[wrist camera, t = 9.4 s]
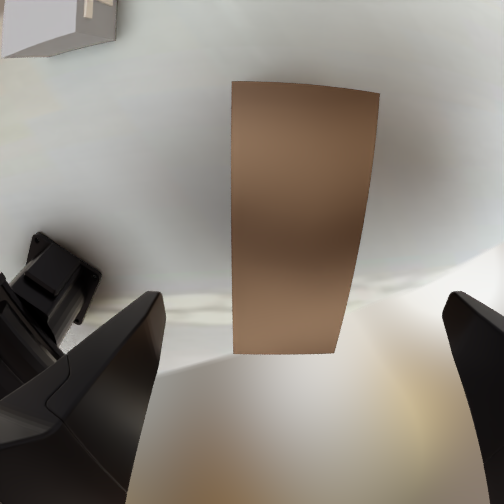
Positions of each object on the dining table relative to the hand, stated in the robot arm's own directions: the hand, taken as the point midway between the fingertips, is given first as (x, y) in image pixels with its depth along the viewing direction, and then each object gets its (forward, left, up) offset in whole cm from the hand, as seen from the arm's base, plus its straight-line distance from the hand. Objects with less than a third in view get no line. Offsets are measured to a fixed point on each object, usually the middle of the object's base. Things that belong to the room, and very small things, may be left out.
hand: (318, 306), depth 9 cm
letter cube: (+3, +17, -12) cm, 21 cm away
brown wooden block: (0, 0, -12) cm, 12 cm away
